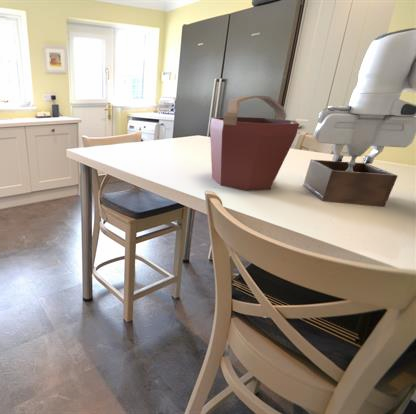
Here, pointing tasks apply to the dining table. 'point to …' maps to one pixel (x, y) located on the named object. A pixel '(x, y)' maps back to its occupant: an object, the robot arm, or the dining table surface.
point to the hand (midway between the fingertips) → (351, 162)
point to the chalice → (362, 139)
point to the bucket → (250, 146)
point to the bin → (349, 183)
